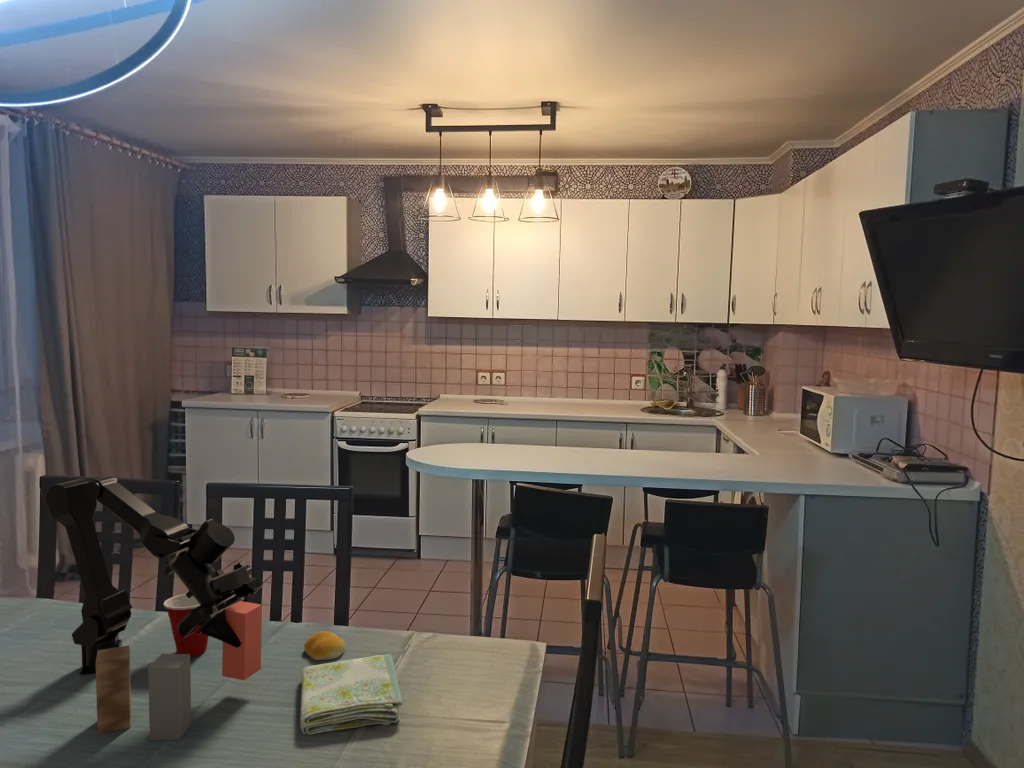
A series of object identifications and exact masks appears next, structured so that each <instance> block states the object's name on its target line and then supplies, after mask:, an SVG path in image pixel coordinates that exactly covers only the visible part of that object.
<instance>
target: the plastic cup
mask: <svg viewBox="0 0 1024 768" xmlns="http://www.w3.org/2000/svg"><path fill="white" fill-rule="evenodd" d="M163 606H164V608H165V609H166V613H167V614H168V618H169V622H170V626H171V627H170V628H171V630H172V631H171V633H172V637H173V640H174V644H175V649H176V652H177V654H190V658H192V656H194V657H197V656H200V655H202V654H204V653H205V652H206V650H207V648H208V644H209V643H208V642H209V636H207V635H204V634H199V635H198V634H197V632H198V631H199V630H200V629H201V628H200V627H199V624H198V625H197V626H196V629H195V632H194V633H192V634H190V635H189V636H187V637H185V638H183V637H182V635H181V634H180V633H179V631H178V623H179V622H180V621H181V620H182V619H183V618H184V617H185V616H186V615H187V614H188V613H189V612H190V611H191V610H193V609H194V608H196V607H198V606H200V604H199V603H198V602H197V600H196V599H195V598H194V596H193V597H191V598H188V597H187V596H186V593H183V594H178V595H175V596H173V597H169V598H168V599H165V600H164V602H163Z"/></svg>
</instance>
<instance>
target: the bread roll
mask: <svg viewBox="0 0 1024 768" xmlns="http://www.w3.org/2000/svg"><path fill="white" fill-rule="evenodd" d="M303 648H304V652H305V653H306V654H307V655H308V656H309V657H311V659H313V660H315V661H329V660H330V661H331V660H334V659H337V658H338V657H340V656H342V655H343V653H344V652H345V651H346V650H345V649H346V642H345V641H344V639H343V638H340V637H339V636H337V634H336V633H333V632H332V631H327V630H326V631H323V630H322V631H318V632H316V633H313V634H312V635H311V636H310V637H308V638H307V639H306V641H305V643H304V646H303Z"/></svg>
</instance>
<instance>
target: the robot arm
mask: <svg viewBox="0 0 1024 768" xmlns="http://www.w3.org/2000/svg"><path fill="white" fill-rule="evenodd" d="M45 501H46V504H47V506H48V508H49V511H50V513H51V515H52V517H53V519H55V520H56V521H57V522H58V523H59V524H61V525H62V526H63V527H64V528H65V530H66V534H67V536H68V540H69V543H70V547H71V550H72V554H73V557H74V561H75V563H76V567H77V570H78V575H79V578H80V580H81V584H82V587H83V591H84V595H85V596H84V599H83V604H82V607H81V610H80V613H81V617H82V623H81V624H80V625H79V626H78V627H76V629H74V631H73V632H72V633H71V638H72V640H73V643H74V644H75V645H80V646H81V667H80V669H79V675H83V674H94V673H95V674H96V658H97V652H98V650H103V649H110V648H116V647H123V640H122V639H120V636H119V635H120V633H121V632H124V631H125V630H126V628H127V625H128V623H129V621H130V619H131V618H132V610H131V609H133V605H132V604H131V602H130V599H129V594H128V592H127V591H126V590H125V589H123V590H121V591H120V590H119V589H118V588H117V587H116V586H114V585H113V581H112V579H111V575H110V572H109V569H108V566H107V562H106V558H105V556H104V552H103V549H102V547H101V546H102V545H101V542H100V539H99V536H98V532H97V528H96V526H95V522H94V516H95V513H96V509H97V505H98V503H97V502H99V503H100V505H102V506H103V507H105V508H106V509H108V510H109V511H111V512H112V513H113V514H114V515H115V516H117V517H118V518H119V519H121V520H122V521H123V522H125V524H127V525H129V527H131V528H132V529H133V530H135V531H136V532H137V533H138V535H139V538H140V542H141V544H142V545H143V546H144V547H145V548H146V550H147V551H148V552H149V553H151V555H152V556H154V557H155V558H158V559H161V558H167V557H169V556H171V555H174V554H177V553H178V554H177V555H176V556H175V557H172V558H169V559H168V560H166V561H165V568H164V570H163V575H164V576H169V575H171V574H174V573H175V574H176V576H177V578H178V579H179V580H180V581H181V582H182V584H183V585H184V586H185V587H186V589H187V590H188V591H187V592H186V593H185V594H186V596H187V597H188V598H191V597H193V596H194V598H195V599H196V600H197V602H198V603H199V604H200V606H198V607H196V608H194V609H193V610H191V611H190V612H189V613H188V614H187V615H186V616H185V617H184V618H183V619H182V620H181V621H180V622H179V623H178V631H179V633H180V634H181V635H182V637H183V638H185V637H187V636H189V635H190V634H192V633H194V632H195V629H196V626H197V625H198V624H199V627H200V628H201V629H200V630H199V631H198V632H197V634H198V635H199V634H204V635H207V636H208V637H209V638H210V637H211V638H213V639H215V640H218V641H221V642H222V643H223V642H225V643H227V644H230V645H232V646H234V647H236V648H238V647H239V646H240V645H241V642H240V640H239V638H238V637H237V635H236V634H235V632H234V631H233V630H232V628H231V627H230V625H229V624H228V623H227V621H226V616H225V609H226V608H228V607H230V606H232V605H233V604H235V603H237V602H239V601H243V602H249V603H253V598H254V597H255V594H256V593H257V592H258V591H259V590H260V589H261V588H262V587H263V584H262V583H261V582H260V581H259V580H258V578H255V577H251V575H252V573H253V568H252V566H251V565H250V564H249V563H248V562H247V560H245V559H244V560H242V561H239V562H237V563H235V564H234V565H233V569H232V570H231V571H228V572H226V573H225V572H224V570H223V569H220V568H219V569H216V570H215V569H214V567H212V565H211V564H215V562H217V561H218V560H219V559H220V558H221V556H223V555H224V554H225V553H226V552H227V550H228V549H229V548H230V547H232V546H233V545H234V543H235V539H236V538H235V535H234V532H233V531H232V529H231V528H229V527H227V526H226V525H224V524H222V523H219V522H216V521H215V520H214V519H213V518H211V519H207V520H206V521H203V522H202V524H201V526H200V527H199V528H198V529H197V528H192V527H189V525H188V524H186V523H185V522H183V521H182V520H180V519H177V518H175V517H174V516H169V515H165V514H161V513H159V512H157V511H155V510H154V509H153V508H152V507H151V506H149V505H148V504H146V503H145V502H144V501H143V500H141V499H140V498H139V497H138V496H136V495H135V494H133V493H132V492H131V491H130V490H128V489H127V488H126V487H124V486H123V485H122V484H121V483H119V481H118V479H117V477H115V476H110V475H109V476H108V475H107V476H104V477H98V478H96V479H95V478H94V479H92V480H90V481H88V480H87V479H85V478H76V479H74V480H68V481H65V482H61V483H57V484H54V485H51V486H50V487H49V489H48V491H47V493H46V494H45ZM187 548H188V549H187ZM186 549H187V550H186Z"/></svg>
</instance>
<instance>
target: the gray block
mask: <svg viewBox="0 0 1024 768" xmlns="http://www.w3.org/2000/svg"><path fill="white" fill-rule="evenodd" d="M147 668H148V669H147V671H148V673H147V674H148V676H147V677H148V717H149V718H148V719H149V720H148V721H149V722H148V724H149V740H150V741H151V740H153V741H179V740H180V739H181V738H182V736H183V735H184V734H185V733H186V731H187V730H188V729H189V727H190V726H191V725H192V690H191V684H192V683H191V677H192V676H191V657H190V654H178V653H161V654H159V656H158V657H157V658H156V659H155V660H153V662H152V663H151V664H150V665H149V666H148V667H147ZM190 724H191V725H190ZM158 739H159V740H158ZM161 739H163V740H161ZM164 739H166V740H164Z"/></svg>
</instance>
